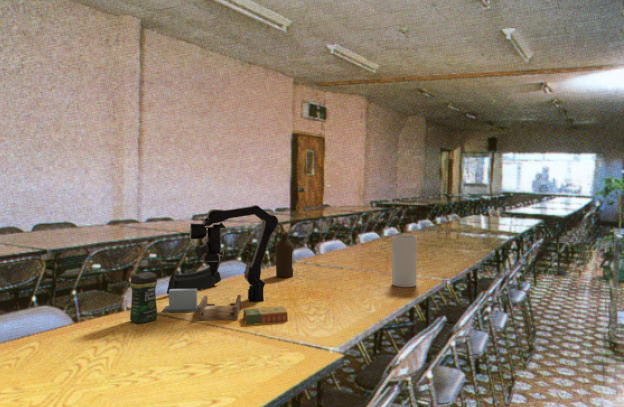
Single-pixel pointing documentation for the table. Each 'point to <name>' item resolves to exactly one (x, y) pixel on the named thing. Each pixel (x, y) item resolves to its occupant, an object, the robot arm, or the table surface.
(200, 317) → the rack
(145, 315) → the coffee jar
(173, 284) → the magazine
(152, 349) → the table surface
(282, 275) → the olive oil
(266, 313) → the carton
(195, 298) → the block
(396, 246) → the cylinder vase
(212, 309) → the offcut stack
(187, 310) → the mat
